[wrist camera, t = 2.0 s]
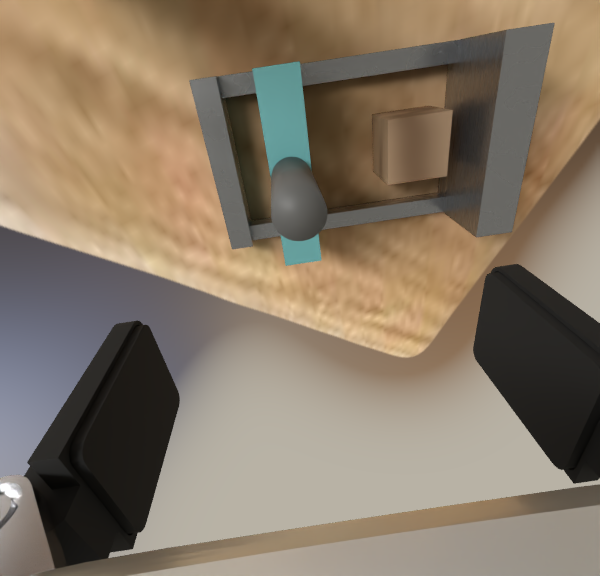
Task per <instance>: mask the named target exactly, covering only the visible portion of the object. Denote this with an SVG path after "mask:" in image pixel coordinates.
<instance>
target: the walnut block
mask: <svg viewBox="0 0 600 576" xmlns="http://www.w3.org/2000/svg"><path fill="white" fill-rule="evenodd" d="M452 113H453V110H449V109H443V108H437V107H432V106H424V107H417V108H411V109H404V110H398V111H391V112H385V113H378V114H372V131H373V172H374V173H375V174H376V175H377V176H379V177H380V178H381V179H382V180H383V181H384V182H385V183H386V184H387V185H392V184H399V183H405V182H412V181H418V180H425V179H432V178H438V177H445V176H447V169H448V158H449V147H450V135H451V124H452Z"/></svg>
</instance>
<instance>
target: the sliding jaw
mask: <svg viewBox="0 0 600 576" xmlns="http://www.w3.org/2000/svg"><path fill="white" fill-rule="evenodd" d="M252 70H253V76H254V82H255V88H256V94H257V100H258V106H259V111H260V117H261V123H262V129H263V135H264V141H265V147H266V153H267V158H268V164H269V170H270V176H271V218H272V223H273V225H274V227H275V229H276V230H277V232H278V233H279V234H280V235H281V241H282V246H283V252H284V258H285V264H286V266H287V265H294V264H300V263H307V262H314V261H321V252H320V243H319V234H318V233H319V232H320V231H321V230H322V229H323V227H324V226H325V223H326V221H327V215H328V213H327V206H326V203H325V201H324V199H323V196H322V194H321V192H320V190H319V187H318V185H317V183H316V180H315V178H314V176H313V174H312V169H311V160H310V151H309V142H308V133H307V123H306V114H305V105H304V96H303V87H302V77H301V68H300V61H299V62H292V63H286V64H279V65H273V66H266V67H260V68H253V69H252Z"/></svg>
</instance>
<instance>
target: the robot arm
mask: <svg viewBox="0 0 600 576" xmlns="http://www.w3.org/2000/svg"><path fill="white" fill-rule="evenodd" d="M473 351H474V356H475V359H476V360H477V362H478V363H479V365H480V366H481V367H482V369H483V370H484V371H485V373H486V374H487V375H488V377H489V378H490V379H491V381H492V382H493V384H494V385H495V386H496V388H497V389H498V390H499V392H500V393H501V394H502V396H503V397H504V398H505V400H506V401H507V402H508V404H509V405H510V407H511V408H512V409H513V411H514V412H515V413H516V415H517V416H518V417H519V419H520V420H521V421H522V423H523V424H524V425H525V427H526V428H527V429H528V431H529V432H530V433H531V435H532V436H533V438H534V439H535V440H536V442H537V443H538V444H539V446H540V447H541V448H542V450H543V451H544V452H545V454H546V455H547V457H548V458H549V459H550V461H551V462H552V463H553V464H554V465H555V466H556V467H557V468H558V469H561V470H564V471H565V472H566V474H567V475H568V476H569V478H570V479H571V480H572V482H573V483H581V482H588V481H595V480H598V479H599V478H600V323H598V322H597V321H596V320H594V319H593V318H591V317H590V316H589V315H588V314H586V313H585V312H584V311H582V310H581V309H579V308H578V307H577V306H575V305H574V304H572V303H571V302H570V301H568V300H567V299H566V298H564V297H563V296H562V295H560V294H559V293H558V292H556V291H555V290H554V289H552V288H551V287H549V286H548V285H547V284H545V283H544V282H543V281H541V280H540V279H538V278H537V277H536V276H534V275H533V274H532V273H530V272H529V271H527V270H526V269H525V268H524V267H522V266H520V265H518V264H514V265H507V266H500V267H495V268H494V269H493V270H492V271H491V273H489V274H487V276H486V278H485V283H484V289H483V295H482V301H481V306H480V312H479V318H478V324H477V329H476V335H475V341H474V347H473ZM179 401H180V400H179V393H178V390H177V388H176V386H175V383H174V381H173V379H172V377H171V374H170V372H169V370H168V368H167V365H166V363H165V361H164V359H163V356H162V354H161V352H160V350H159V348H158V345H157V343H156V341H155V339H154V336H153V334H152V332H151V330H150V328H149V326H148V325H143V324H142V323H141V322H140V321H132V322H126V323H119V324H116V325H115V326H114V327H113V328H112V330H111V332H110V333H109V335H108V336H107V338H106V339H105V341H104V343H103V344H102V346H101V347H100V349H99V350H98V352H97V354H96V355H95V357H94V358H93V360H92V361H91V363H90V365H89V366H88V368H87V369H86V371H85V372H84V374H83V376H82V377H81V379H80V381H79V382H78V384H77V385H76V387H75V388H74V390H73V391H72V393H71V394H70V396H69V398H68V399H67V401H66V402H65V404H64V406H63V407H62V409H61V410H60V412H59V413H58V415H57V417H56V418H55V420H54V421H53V423H52V424H51V426H50V427H49V429H48V431H47V432H46V434H45V435H44V437H43V439H42V440H41V442H40V443H39V445H38V446H37V448H36V449H35V451H34V453H33V454H32V456H31V457H30V459H29V461H28V464H29V465H30V467H29V469H28V471H27V472H26V474H25V475H24V476H21V475H10V476H6V477H2V478H0V576H600V485H592V486H584V487H576V488H569V489H562V490H555V491H548V492H541V493H534V494H527V495H520V496H513V497H506V498H500V499H492V500H485V501H478V502H471V503H464V504H457V505H450V506H443V507H436V508H430V509H423V510H416V511H409V512H402V513H396V514H389V515H382V516H376V517H369V518H362V519H355V520H348V521H342V522H335V523H328V524H322V525H316V526H308V527H302V528H295V529H288V530H282V531H275V532H269V533H262V534H256V535H250V536H243V537H236V538H230V539H224V540H217V541H211V542H204V543H197V544H191V545H184V546H178V547H171V548H165V549H159V550H154V551H148V552H142V553H136V554H130V555H125V556H120V557H113V558H108V557H109V553H110V552H116V551H123V550H129V549H133V547H134V543H135V540H136V536H137V533H138V532H141V531H142V530H143V529H144V527H145V525H146V522H147V518H148V515H149V511H150V507H151V504H152V500H153V497H154V493H155V489H156V486H157V482H158V479H159V475H160V472H161V468H162V465H163V461H164V457H165V454H166V450H167V447H168V443H169V439H170V436H171V432H172V429H173V425H174V422H175V418H176V414H177V411H178V407H179Z"/></svg>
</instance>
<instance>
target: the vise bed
mask: <svg viewBox="0 0 600 576" xmlns="http://www.w3.org/2000/svg"><path fill="white" fill-rule="evenodd" d="M553 28H554V23H549V24H542V25H536V26H529V27H522V28H516V29H509V30H504V31H499V32H494V33H489V34H485V35H480V36H475V37H470V38H465V39H461V40H455V41H448V42H442V43H435V44H429V45H422V46H415V47H409V48H402V49H396V50H389V51H383V52H376V53H369V54H363V55H356V56H350V57H343V58H337V59H330V60H323V61H317V62H310V63H304V64H300V68H301V77H302V86H306V85H312V84H319V83H326V82H332V81H339V80H345V79H352V78H359V77H365V76H372V75H378V74H385V73H392V72H398V71H405V70H411V69H418V68H425V67H431V66H438V65H444V64H448V72H447V85H446V97H445V109H449V110H453V113H452V124H451V135H450V147H449V158H448V169H447V176H445V177H439V185H438V193H432V194H425V195H418V196H412V197H405V198H398V199H392V200H385V201H378V202H372V203H365V204H358V205H352V206H345V207H338V208H332V209H327V213H328V215H327V221H326V223H325V226H324V227H323V229H322V230H324V229H331V228H338V227H344V226H351V225H358V224H364V223H371V222H378V221H384V220H391V219H398V218H405V217H411V216H418V215H425V214H431V213H438V212H444V213H445V214H447V215H448V216H449V217H450V218H452V219H453V220H454V221H456V222H457V223H458V224H460V225H461V226H462V227H463V228H465V229H466V230H467V231H469V232H470V233H471V234H472V235H474V236H475V237H482V236H488V235H495V234H502V233H508V232H512V229H513V224H514V220H515V215H516V210H517V205H518V200H519V195H520V190H521V185H522V180H523V175H524V170H525V166H526V161H527V156H528V151H529V146H530V141H531V136H532V131H533V126H534V121H535V117H536V112H537V107H538V102H539V97H540V92H541V87H542V82H543V77H544V72H545V67H546V63H547V58H548V53H549V48H550V43H551V38H552V33H553ZM189 82H190V86H191V89H192V93H193V97H194V101H195V105H196V109H197V113H198V117H199V121H200V125H201V129H202V133H203V137H204V141H205V144H206V148H207V152H208V156H209V160H210V164H211V168H212V172H213V176H214V180H215V184H216V188H217V192H218V195H219V199H220V203H221V207H222V211H223V215H224V219H225V223H226V227H227V231H228V235H229V239H230V243H231V247H232V249H238V248H245V247H251V246H253V240H257V239H264V238H271V237H277V236H281V235H280V234H279V233H278V232H277V230H276V229H275V227H274V225H273V223H272V218H265V219H258V220H252V221H251V217H250V212H249V208H248V203H247V198H246V194H245V189H244V184H243V180H242V175H241V170H240V165H239V161H238V156H237V151H236V147H235V142H234V137H233V133H232V128H231V123H230V119H229V114H228V109H227V104H226V100H225V98H227V97H233V96H240V95H247V94H253V93H256V88H255V82H254V76H253V71H251V72H245V73H238V74H231V75H225V76H215V77H208V78H202V79H195V80H189Z"/></svg>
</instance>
